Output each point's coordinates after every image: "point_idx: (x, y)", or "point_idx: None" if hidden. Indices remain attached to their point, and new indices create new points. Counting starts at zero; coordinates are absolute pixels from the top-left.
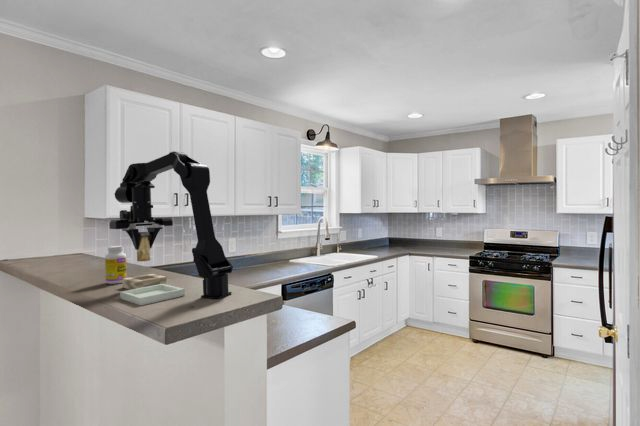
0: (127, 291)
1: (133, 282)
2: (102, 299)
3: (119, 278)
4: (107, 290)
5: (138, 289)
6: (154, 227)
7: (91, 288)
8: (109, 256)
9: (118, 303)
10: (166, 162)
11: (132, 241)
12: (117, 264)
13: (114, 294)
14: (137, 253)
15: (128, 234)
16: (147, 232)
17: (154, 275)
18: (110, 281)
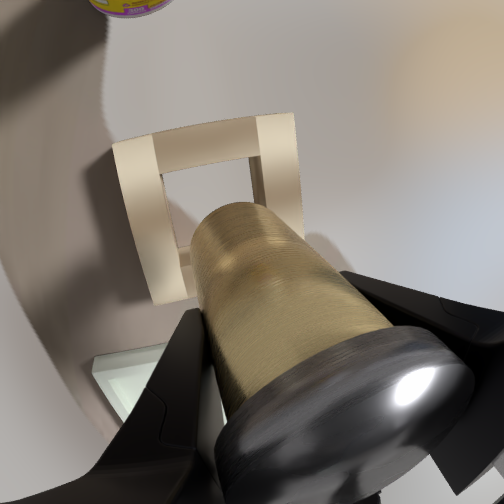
0: (115, 377)
1: (146, 276)
2: (42, 329)
3: (133, 11)
4: (52, 164)
5: (152, 370)
6: (496, 463)
7: (11, 62)
8: None
9: (94, 400)
10: None
11: (157, 382)
12: None
13: (73, 277)
14: (197, 295)
15: (95, 468)
16: (364, 495)
17: (280, 186)
18: (94, 6)
